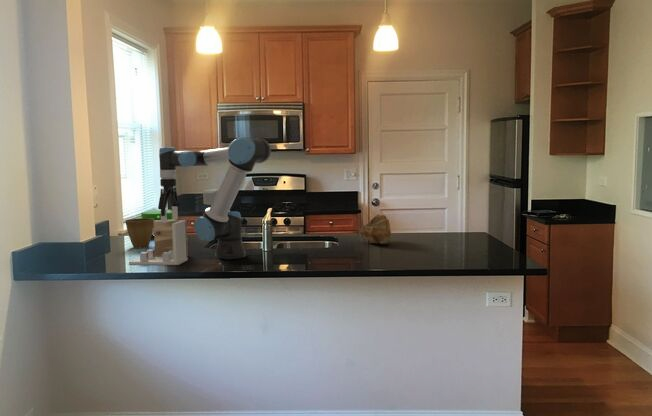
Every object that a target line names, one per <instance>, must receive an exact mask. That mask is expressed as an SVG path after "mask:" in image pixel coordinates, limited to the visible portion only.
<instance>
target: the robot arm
mask: <svg viewBox="0 0 652 416" xmlns="http://www.w3.org/2000/svg"><path fill="white" fill-rule="evenodd" d="M158 153H159V154H158V157H159V178H160V181H159V183H160V186H161V187H163V188H160V195H159V199H158V210H160V211H161V223H167V211H168V210H167V205H168V201H169V200H170V203H171V211H172V219H176V220H178V219H179V218H178V217H179V216H178V215H179V214H178V212H179V211H178V207H180V201H179V200H180V199H179V196H178V192H177V187H176V186H177V178H176V177H177V175H176V174H177V171H176V168H177V167H184V168H186V167H187V168H189V167H207V166H211V165H220V164H229V166H228V168H227V169H226V171H225V172H226V173H225V174H224V177H223V179H222V181H221V182H220V186H219V188H218V189H219V190H218V192H217V194H216V196H215V198H214V201H213V203H212V205H210V207H207V208H206V209H205V210H204V213H203V215H202V216H199V217H198V218H196V219H195V220H194V225H193V227H194V232H195V235H196V236H197V237H198V239H199V240H202V241H204V242H207V241H209V242H211V241H214V240H215V239H216V240H217V245H216V250H215V253H214V257H215V258H216V259H220V260H236V259H242V258H245V257H246V256H247V255H246V252H247V251H246V250H245V247H244V244H243V240H242V234H243V233H242V215H241V213H240V212H239V211H231V208H232V206H233V203H234V201H235V199H236V197H237V195H238V193H239V191H240V190H241V188H242V187H241V186H242V184H243V183H244V181H245V179H246V176H247V174H248V173H250V172H252V171H253V169H254V167H255V165H256V164H261V163H265V162H267V160H269V158H270V157H271V153H272V149H271V146H270V144H269V141H267V140H266V139H263V138H261V137H247V136H246V137H245V136H244V137H238V138H237V137H236V139H233V141H231V142H230V144H229V146H228V147H220V148H215V149H214V148H213V149H206V150H176V148H175V146H172V147H170V146H169V147H168V146H163V147H160V148H159V152H158ZM216 240H215V241H216Z"/></svg>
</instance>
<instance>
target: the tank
mask: <svg viewBox="0 0 652 416" xmlns="http://www.w3.org/2000/svg"><path fill="white" fill-rule="evenodd" d="M140 218H152V219H154V221H156V220H161V210H149V211H142V212H141V216H137V217H136V219H140ZM167 220H177V219H172V210H167ZM153 229H154V224H153Z"/></svg>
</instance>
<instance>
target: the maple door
mask: <svg viewBox="0 0 652 416" xmlns="http://www.w3.org/2000/svg"><path fill="white" fill-rule="evenodd" d="M184 220H185V219H184ZM179 221H182V220H178V219H176V220H167V223H161V220H156V221H154V228H153V235H154V236H153V237H154V238H153V239H154V240H153V241H154V249H155V257H163V255H162V253H164V252H169V250H173V236H172V224H173V223H176V222H179ZM187 223H188V222H187V220H185V235H186V257H188V256H189V245H188V243H189V242H188V224H187Z"/></svg>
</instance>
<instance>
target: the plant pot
mask: <svg viewBox="0 0 652 416" xmlns="http://www.w3.org/2000/svg"><path fill="white" fill-rule="evenodd" d="M153 224H154V219H152V218H140V219H137V218H131V219H126V220H125V226H126V229H127V230H126V231H127V234H128V237H129V240H130V242H131V245H132V247H133V249H147V248H149V246H150V243H151V240H152V236H153V232H154V228H153ZM146 247H147V248H146Z"/></svg>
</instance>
